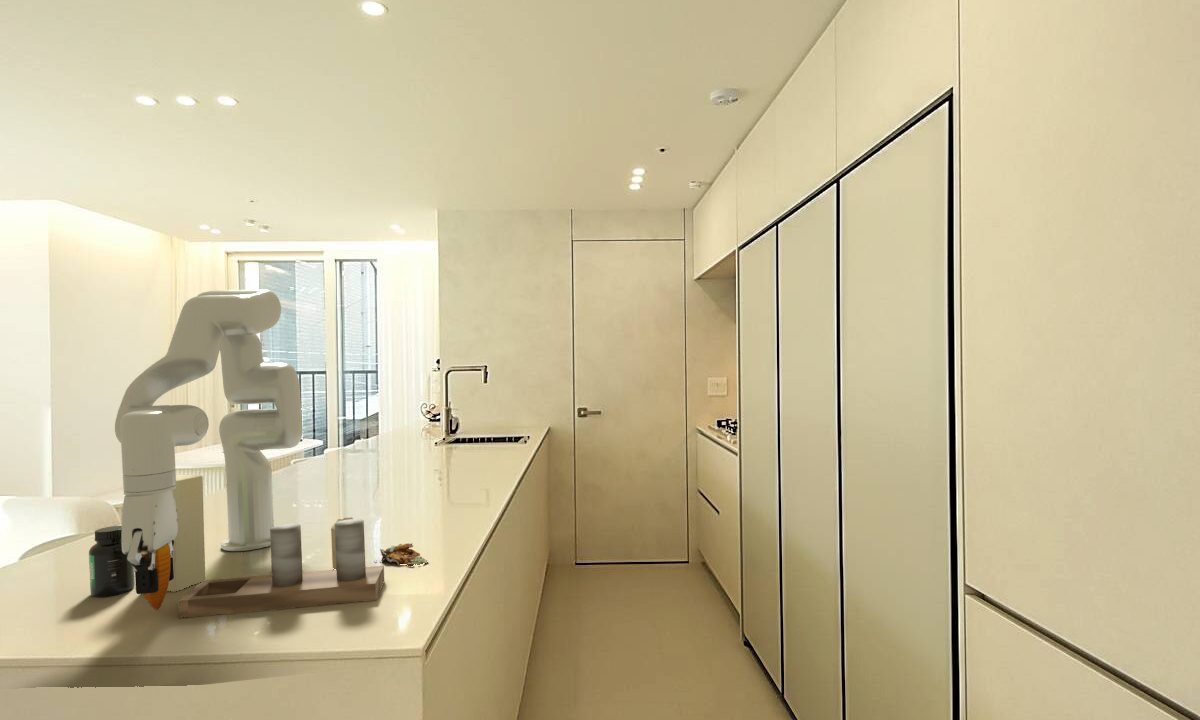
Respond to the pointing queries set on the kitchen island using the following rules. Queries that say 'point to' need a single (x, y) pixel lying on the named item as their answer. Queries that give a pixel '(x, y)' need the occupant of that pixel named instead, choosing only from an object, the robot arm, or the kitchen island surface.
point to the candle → (334, 542)
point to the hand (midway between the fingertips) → (155, 585)
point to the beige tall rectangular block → (188, 533)
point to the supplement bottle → (109, 564)
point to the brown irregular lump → (402, 555)
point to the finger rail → (277, 596)
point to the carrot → (160, 576)
